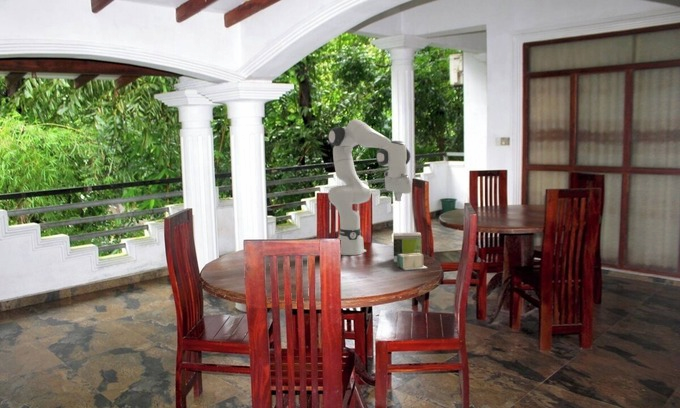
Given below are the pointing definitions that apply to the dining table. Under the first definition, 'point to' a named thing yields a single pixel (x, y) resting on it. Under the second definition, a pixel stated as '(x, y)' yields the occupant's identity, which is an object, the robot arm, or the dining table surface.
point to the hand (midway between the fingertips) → (397, 200)
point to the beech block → (410, 260)
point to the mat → (415, 268)
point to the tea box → (407, 243)
